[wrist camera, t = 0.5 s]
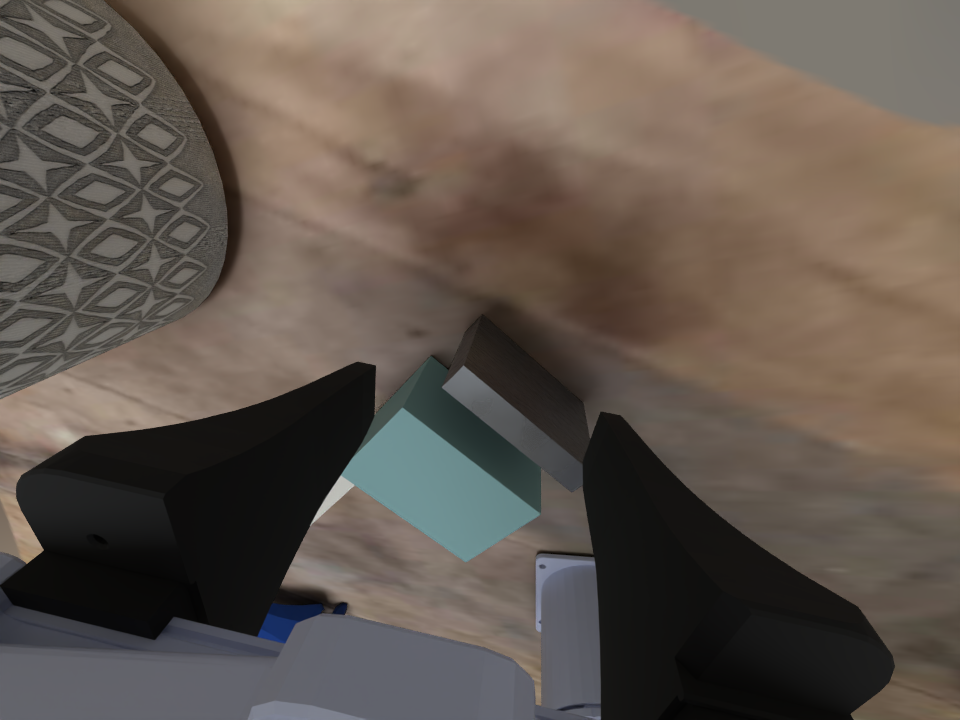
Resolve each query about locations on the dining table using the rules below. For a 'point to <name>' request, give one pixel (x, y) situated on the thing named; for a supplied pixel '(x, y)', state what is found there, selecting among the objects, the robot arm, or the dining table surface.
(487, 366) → the wall
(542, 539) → the dining table surface
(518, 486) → the block
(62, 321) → the planter
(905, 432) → the dining table surface
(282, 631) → the toy
